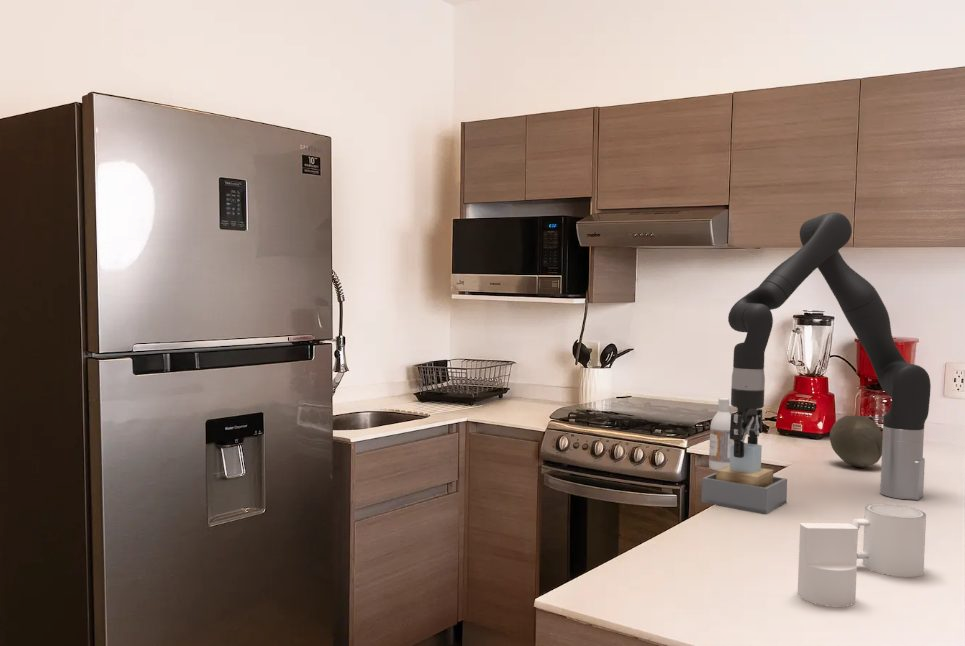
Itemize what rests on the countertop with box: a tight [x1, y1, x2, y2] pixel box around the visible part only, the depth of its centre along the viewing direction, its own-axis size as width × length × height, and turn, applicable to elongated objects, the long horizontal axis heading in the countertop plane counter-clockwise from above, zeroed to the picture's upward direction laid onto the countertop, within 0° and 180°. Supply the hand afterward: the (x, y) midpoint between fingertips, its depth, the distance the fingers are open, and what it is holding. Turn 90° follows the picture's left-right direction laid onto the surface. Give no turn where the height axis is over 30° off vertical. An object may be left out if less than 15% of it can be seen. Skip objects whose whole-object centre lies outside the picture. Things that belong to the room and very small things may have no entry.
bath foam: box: [708, 397, 734, 471], centre depth 239 cm, size 7×7×20 cm
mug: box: [850, 503, 927, 578], centre depth 157 cm, size 14×10×11 cm
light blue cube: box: [730, 442, 763, 474], centre depth 202 cm, size 6×6×6 cm
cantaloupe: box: [829, 415, 883, 469], centre depth 245 cm, size 14×14×15 cm
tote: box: [700, 471, 788, 515], centre depth 203 cm, size 16×14×6 cm
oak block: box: [715, 465, 774, 488], centre depth 203 cm, size 10×10×7 cm
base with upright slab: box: [797, 522, 859, 607], centre depth 141 cm, size 9×9×12 cm
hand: (745, 454), depth 202 cm, fingers open, 8 cm apart
